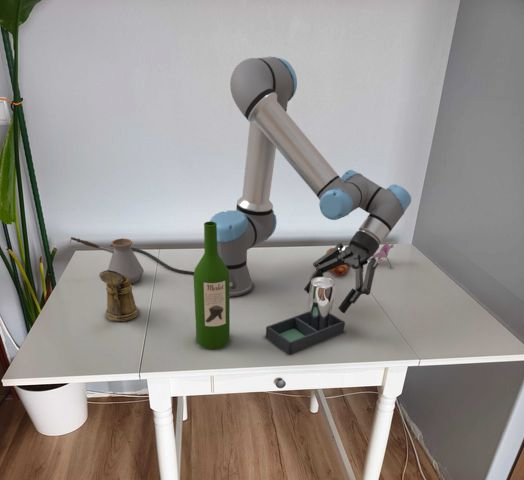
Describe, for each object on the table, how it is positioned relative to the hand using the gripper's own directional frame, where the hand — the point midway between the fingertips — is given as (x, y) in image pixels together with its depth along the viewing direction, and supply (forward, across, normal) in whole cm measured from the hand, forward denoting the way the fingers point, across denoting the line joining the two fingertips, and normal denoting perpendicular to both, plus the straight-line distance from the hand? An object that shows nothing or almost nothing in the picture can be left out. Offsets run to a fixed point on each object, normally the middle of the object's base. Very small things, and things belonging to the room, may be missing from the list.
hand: (323, 301), depth 137 cm
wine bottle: (+26, +12, +14) cm, 32 cm away
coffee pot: (+32, +62, +19) cm, 72 cm away
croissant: (-18, +29, -31) cm, 47 cm away
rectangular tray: (+10, 0, -2) cm, 11 cm away
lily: (-29, +22, -42) cm, 56 cm away
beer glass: (+7, 0, -6) cm, 9 cm away
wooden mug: (+37, +37, +24) cm, 58 cm away
